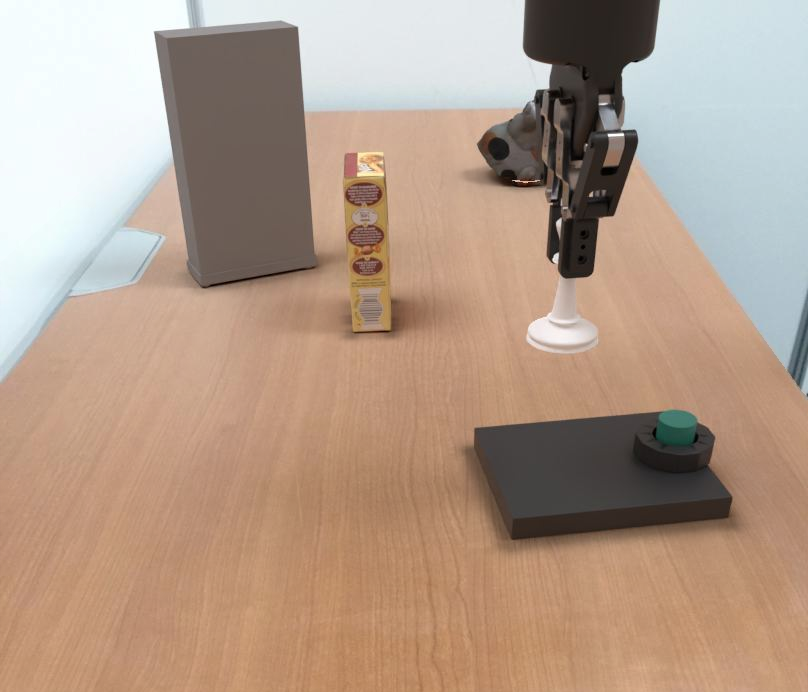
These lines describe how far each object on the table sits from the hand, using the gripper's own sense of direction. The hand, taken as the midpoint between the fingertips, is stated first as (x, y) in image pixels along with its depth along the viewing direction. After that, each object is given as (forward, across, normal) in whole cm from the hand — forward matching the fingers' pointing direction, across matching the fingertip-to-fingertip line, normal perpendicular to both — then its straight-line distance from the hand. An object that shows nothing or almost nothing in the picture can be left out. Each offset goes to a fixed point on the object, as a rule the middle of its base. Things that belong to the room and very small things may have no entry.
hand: (569, 267), depth 63 cm
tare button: (+14, 0, -9) cm, 17 cm away
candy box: (+17, +35, +10) cm, 40 cm away
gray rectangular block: (+17, +51, +22) cm, 58 cm away
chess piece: (+5, 0, 0) cm, 5 cm away
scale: (+17, 0, -3) cm, 17 cm away
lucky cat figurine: (+17, +82, -20) cm, 86 cm away
